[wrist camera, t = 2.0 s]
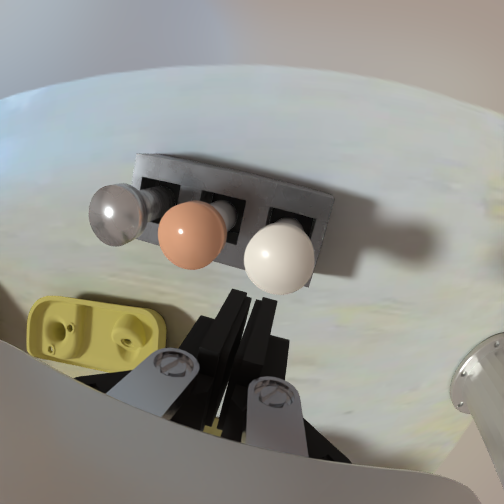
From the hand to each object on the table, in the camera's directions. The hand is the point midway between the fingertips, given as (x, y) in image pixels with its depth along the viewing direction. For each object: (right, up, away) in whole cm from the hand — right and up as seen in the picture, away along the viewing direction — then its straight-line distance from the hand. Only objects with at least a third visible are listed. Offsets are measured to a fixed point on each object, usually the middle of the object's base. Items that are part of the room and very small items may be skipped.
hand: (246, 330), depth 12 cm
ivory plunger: (+3, +4, +17) cm, 18 cm away
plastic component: (-19, -7, +28) cm, 34 cm away
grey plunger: (-8, +8, +18) cm, 21 cm away
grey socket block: (-2, +7, +20) cm, 21 cm away
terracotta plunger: (-2, +6, +17) cm, 19 cm away
